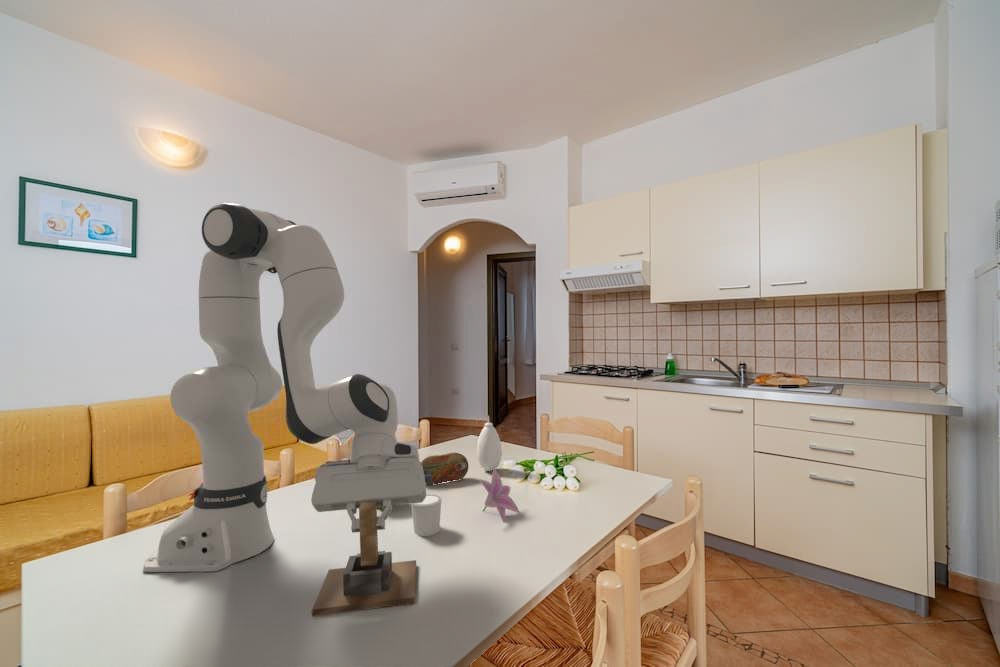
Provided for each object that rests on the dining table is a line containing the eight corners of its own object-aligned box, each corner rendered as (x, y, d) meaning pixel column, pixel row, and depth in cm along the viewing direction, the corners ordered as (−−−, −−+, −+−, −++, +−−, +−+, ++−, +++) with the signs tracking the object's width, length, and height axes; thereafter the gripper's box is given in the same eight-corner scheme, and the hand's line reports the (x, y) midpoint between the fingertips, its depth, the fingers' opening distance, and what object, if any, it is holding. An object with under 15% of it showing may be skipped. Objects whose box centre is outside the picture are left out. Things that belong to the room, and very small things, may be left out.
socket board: (312, 615, 69) (311, 587, 69) (328, 574, 81) (328, 550, 81) (414, 603, 72) (413, 576, 72) (416, 565, 83) (415, 542, 83)
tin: (420, 487, 126) (419, 458, 126) (418, 484, 129) (417, 456, 129) (469, 479, 132) (468, 452, 132) (465, 476, 135) (465, 449, 135)
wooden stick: (360, 566, 75) (358, 508, 75) (363, 558, 77) (361, 502, 77) (376, 564, 75) (374, 506, 75) (378, 557, 78) (376, 501, 78)
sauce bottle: (506, 470, 140) (505, 414, 140) (489, 476, 135) (488, 418, 135) (489, 465, 146) (488, 412, 146) (472, 471, 140) (471, 415, 140)
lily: (477, 532, 99) (496, 498, 98) (458, 497, 109) (474, 465, 107) (516, 533, 106) (534, 501, 105) (495, 500, 116) (511, 470, 114)
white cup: (436, 538, 94) (435, 506, 94) (406, 536, 96) (405, 504, 96) (446, 524, 101) (445, 494, 101) (418, 522, 103) (417, 493, 103)
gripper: (314, 453, 81) (300, 528, 72) (424, 445, 85) (426, 516, 75) (321, 470, 86) (309, 543, 76) (425, 462, 89) (427, 530, 79)
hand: (368, 529), depth 76 cm, fingers closed on wooden stick, 3 cm apart
